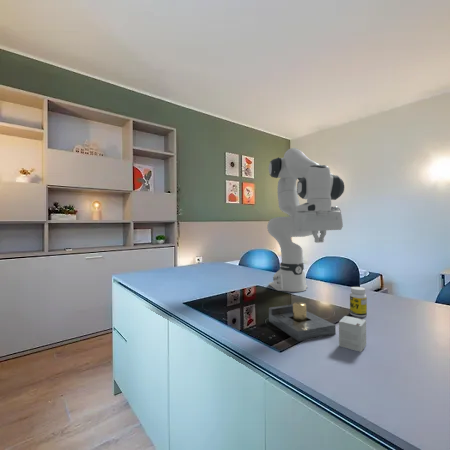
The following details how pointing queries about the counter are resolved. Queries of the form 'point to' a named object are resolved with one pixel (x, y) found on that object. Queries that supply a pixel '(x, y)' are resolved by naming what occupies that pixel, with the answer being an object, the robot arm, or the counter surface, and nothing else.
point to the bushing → (299, 312)
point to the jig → (300, 324)
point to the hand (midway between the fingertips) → (319, 242)
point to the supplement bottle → (358, 302)
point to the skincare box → (352, 333)
